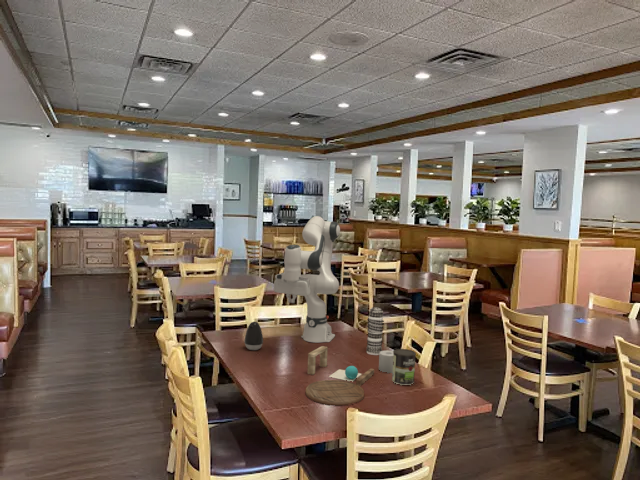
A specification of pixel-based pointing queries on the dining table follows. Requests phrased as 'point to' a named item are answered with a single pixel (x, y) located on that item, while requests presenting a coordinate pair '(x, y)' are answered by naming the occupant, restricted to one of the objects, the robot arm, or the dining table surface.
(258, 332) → the speaker
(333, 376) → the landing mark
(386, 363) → the toilet tissue
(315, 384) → the trivet
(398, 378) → the coffee can
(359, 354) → the dining table surface
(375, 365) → the dining table surface
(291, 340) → the dining table surface
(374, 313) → the leaning tower model
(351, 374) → the ball
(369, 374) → the stopper wall
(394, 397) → the dining table surface
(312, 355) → the bridge
